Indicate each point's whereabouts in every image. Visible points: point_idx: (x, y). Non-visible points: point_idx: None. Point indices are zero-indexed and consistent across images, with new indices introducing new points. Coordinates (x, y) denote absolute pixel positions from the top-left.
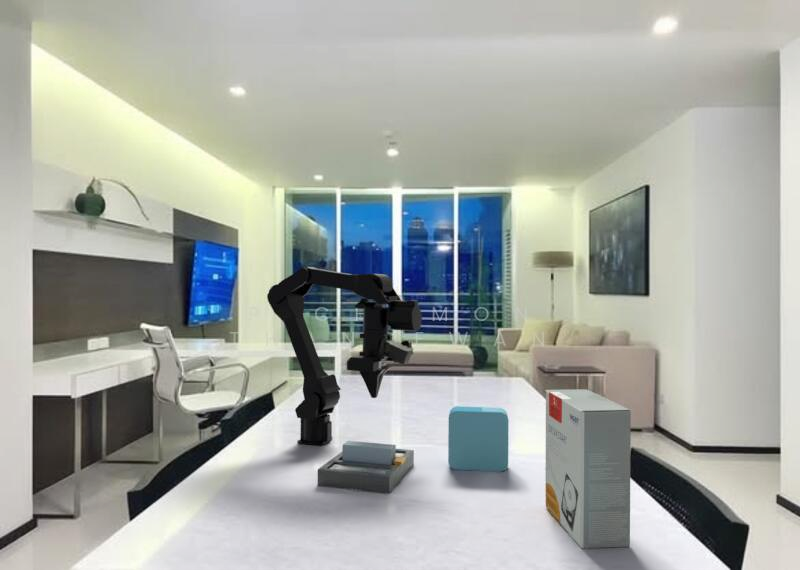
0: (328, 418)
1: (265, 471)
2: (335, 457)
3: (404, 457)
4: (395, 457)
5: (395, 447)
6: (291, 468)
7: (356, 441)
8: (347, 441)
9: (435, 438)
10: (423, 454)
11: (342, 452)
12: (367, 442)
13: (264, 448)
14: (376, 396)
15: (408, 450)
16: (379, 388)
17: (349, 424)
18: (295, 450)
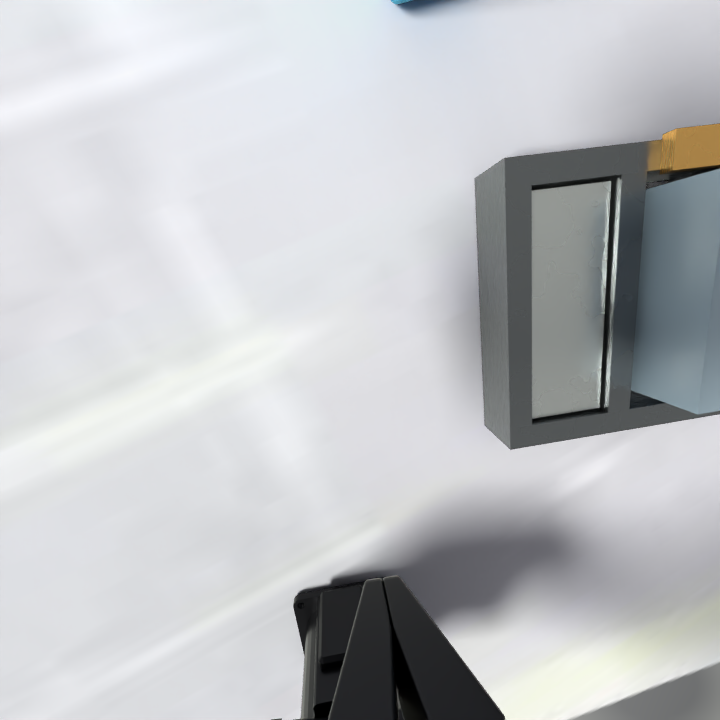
0: (334, 683)
1: (658, 562)
2: (679, 415)
3: (681, 132)
4: (664, 184)
5: (715, 170)
6: (621, 523)
7: (701, 375)
8: (709, 410)
9: (36, 233)
10: (323, 192)
11: (615, 425)
12: (710, 321)
13: None
14: (388, 582)
15: (517, 181)
16: (345, 659)
17: (65, 654)
18: (461, 610)
